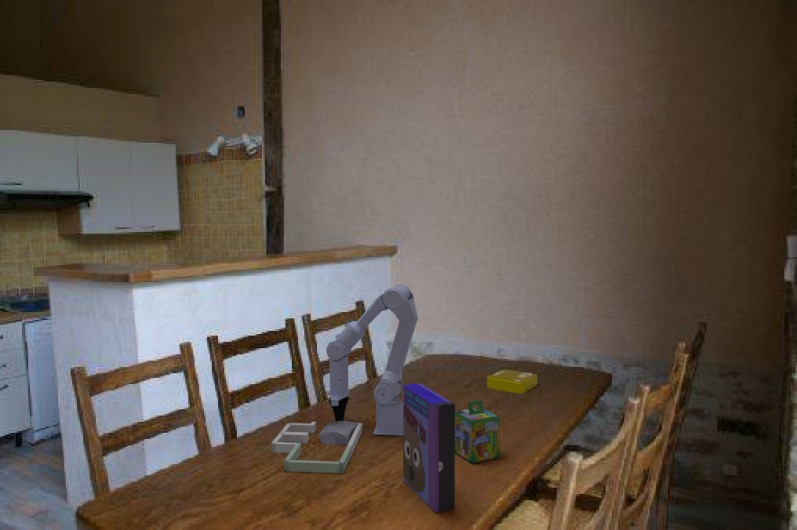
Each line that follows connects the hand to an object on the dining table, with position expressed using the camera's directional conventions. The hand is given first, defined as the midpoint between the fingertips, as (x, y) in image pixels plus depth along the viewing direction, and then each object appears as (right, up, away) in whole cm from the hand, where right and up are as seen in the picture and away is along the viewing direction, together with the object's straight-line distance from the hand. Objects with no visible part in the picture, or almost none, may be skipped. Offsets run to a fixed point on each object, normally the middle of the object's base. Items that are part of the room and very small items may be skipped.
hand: (339, 421), depth 186 cm
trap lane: (-5, -3, -18) cm, 19 cm away
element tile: (+61, +2, +42) cm, 74 cm away
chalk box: (+39, -3, -23) cm, 46 cm away
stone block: (0, -3, -9) cm, 10 cm away
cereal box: (+25, -5, -45) cm, 52 cm away
